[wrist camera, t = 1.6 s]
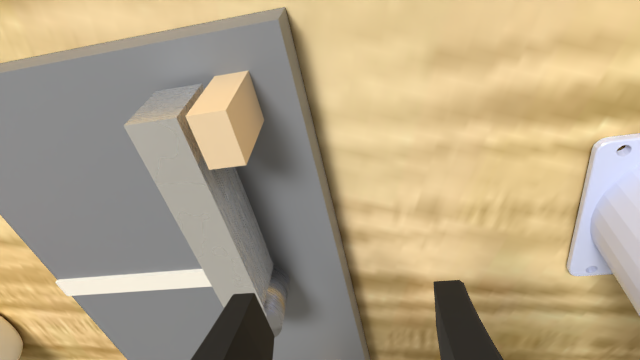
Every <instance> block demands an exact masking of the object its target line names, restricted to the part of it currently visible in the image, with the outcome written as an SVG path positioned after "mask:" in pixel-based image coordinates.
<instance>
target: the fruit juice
mask: <svg viewBox="0 0 640 360" xmlns="http://www.w3.org/2000/svg"><path fill="white" fill-rule="evenodd" d="M22 350H23V342H22V339H21V337H20V335H19V333H18V332H17V330H16V329H15V328H14V327H13V326H12V325H11V324H10V323H9V322H8V321H7V320H5V319H4V318H3V317H1V316H0V360H19V358H20V356H21V353H22Z"/></svg>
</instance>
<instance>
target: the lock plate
mask: <svg viewBox="0 0 640 360" xmlns="http://www.w3.org/2000/svg"><path fill="white" fill-rule="evenodd" d="M201 83H202V84H203V87H204V89H205V90H204V91H203V93H202V94H201V95H200V97H199V98H198V99H197V101H196V102H195V104H194V105H193V106H192V108H191V109H190V110H189V112H188V113H187V115H186V116H185V117H186V119H187V121H188V123H189V126H190V128H191V130H192V132H193V135H194V137H195V139H196V141H197V144H198V146H199V148H200V150H201V153H202V155H203V157H204V159H205V162H206V164H207V166H208V168H209V170H212V169H220V168H228V167H236V170H237V172H238V175H239V178H240V180H241V183H242V185H243V188H244V190H245V193H246V195H247V198H248V200H249V203H250V205H251V208H252V210H253V213H254V215H255V218H256V220H257V223H258V226H259V228H260V231H261V233H262V236H263V238H264V241H265V243H266V246H267V248H268V251H269V253H270V256H271V258H272V261H273V263H274V265H276V266H278V267H280V268H281V269H283V270H284V271H285V272H286V273H287V275H288V277H289V279H290V287H289V292H288V298H287V303H286V309H285V315H284V320H283V326H282V330H281V332H280V334H279V335H278V336H277V337H275V338H274V349H273V360H370V356H369V352H368V348H367V344H366V339H365V335H364V331H363V327H362V323H361V319H360V315H359V310H358V306H357V302H356V298H355V294H354V290H353V286H352V282H351V277H350V273H349V269H348V265H347V261H346V257H345V253H344V248H343V244H342V240H341V236H340V232H339V228H338V224H337V219H336V215H335V211H334V207H333V203H332V199H331V195H330V191H329V186H328V182H327V178H326V174H325V170H324V166H323V162H322V157H321V153H320V149H319V145H318V141H317V137H316V133H315V128H314V124H313V120H312V116H311V112H310V108H309V104H308V99H307V95H306V91H305V87H304V83H303V79H302V75H301V71H300V66H299V62H298V58H297V54H296V50H295V46H294V42H293V37H292V33H291V29H290V25H289V21H288V17H287V13H286V8H285V7H283V8H278V9H273V10H268V11H263V12H258V13H253V14H248V15H243V16H238V17H233V18H228V19H222V20H217V21H212V22H207V23H202V24H197V25H192V26H187V27H182V28H177V29H172V30H167V31H162V32H157V33H152V34H147V35H142V36H137V37H132V38H126V39H121V40H116V41H111V42H106V43H101V44H96V45H91V46H86V47H81V48H76V49H71V50H66V51H61V52H56V53H51V54H46V55H41V56H36V57H31V58H25V59H20V60H15V61H10V62H5V63H0V215H1V216H2V217H3V218H4V219H5V220H6V222H7V223H8V224H9V225H10V226H11V227H12V228H13V230H14V231H15V232H16V233H17V234H18V235H19V236H20V238H21V239H22V240H23V241H24V242H25V243H26V244H27V246H28V247H29V248H30V249H31V250H32V251H33V252H34V254H35V255H36V256H37V257H38V258H39V259H40V260H41V262H42V263H43V264H44V265H45V266H46V267H47V268H48V270H49V271H50V272H51V273H52V274H53V275H54V276H55V277H56V279H57V281H56V282H55V283H56V284H57V285H58V286H59V287H60V288H61V290H62V291H63V292H64V293H65V294H66V295H67V296H72V297H73V298H74V299H75V300H76V301H77V303H78V304H79V305H80V306H81V307H82V308H83V309H84V311H85V312H86V313H87V314H88V315H89V316H90V317H91V319H92V320H93V321H94V322H95V323H96V324H97V325H98V326H99V328H100V329H101V330H102V331H103V332H104V333H105V334H106V336H107V337H108V338H109V339H110V340H111V341H112V342H113V344H114V345H115V346H116V347H117V348H118V349H119V350H120V352H121V353H122V354H123V355H124V356H125V357H126V358H127V360H191V358H192V357H193V355H194V354H195V352H196V351H197V349H198V348H199V346H200V345H201V343H202V342H203V340H204V339H205V337H206V336H207V334H208V333H209V331H210V330H211V328H212V326H213V325H214V323H215V322H216V320H217V319H218V317H219V315H220V314H221V312H222V311H223V309H224V307H223V305H222V304H221V302H220V300H219V298H218V296H217V295H216V293H215V291H214V289H213V287H212V286H211V284H210V282H209V280H208V278H207V276H206V275H205V273H204V271H203V269H202V267H201V266H200V264H199V262H198V260H197V258H196V256H195V255H194V253H193V251H192V249H191V247H190V246H189V244H188V242H187V240H186V238H185V236H184V235H183V233H182V231H181V229H180V227H179V226H178V224H177V222H176V220H175V218H174V217H173V215H172V213H171V211H170V209H169V207H168V206H167V204H166V202H165V200H164V198H163V197H162V195H161V193H160V191H159V189H158V187H157V186H156V184H155V182H154V180H153V178H152V177H151V175H150V173H149V171H148V169H147V167H146V166H145V164H144V162H143V160H142V158H141V157H140V155H139V153H138V151H137V149H136V148H135V146H134V144H133V142H132V140H131V138H130V137H129V135H128V133H127V131H126V129H125V128H124V125H125V124H126V122H127V121H128V120H129V119H130V118H131V117H132V116H133V115H134V114H135V113H136V112H137V111H138V110H139V109H140V108H141V107H142V105H143V104H144V103H145V102H146V101H147V100H148V99H149V98H150V97H151V96H152V95H153V94H154V93H155V92H156V91H160V90H166V89H172V88H178V87H184V86H190V85H195V84H201Z"/></svg>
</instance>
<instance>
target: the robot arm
mask: <svg viewBox="0 0 640 360" xmlns="http://www.w3.org/2000/svg"><path fill="white" fill-rule="evenodd" d="M624 145H626V146H625V148H623V149H622V150H619V151H617V150H618V148H620V147H621V146H624ZM567 269H568V271H569V273H570V274H571V275H574V276H589V275H606V274H614V276H615V277H616V279H617V281H618V282H619V284H620V286H621V287H622V289H623V290H624V292H625V294H626V295H627V297H628V299H629V300H630V302H631V303H632V305H633V307H634V308H635V310H636V311H637V313H638V315H639V316H640V133H638V134H629V135H621V136H612V137H606V138H603V139H601V140H599V141H597V142H596V143H595V144H594V146H593V148H592V151H591V156H590V160H589V165H588V170H587V174H586V179H585V183H584V188H583V193H582V197H581V202H580V206H579V211H578V215H577V220H576V225H575V229H574V234H573V238H572V243H571V248H570V252H569V257H568V261H567ZM434 295H435V311H436V327H437V335H438V342H439V349H440V356H441V360H503V358H502V357H501V355H500V353H499V352H498V350H497V348H496V347H495V345H494V343H493V342H492V340H491V338H490V336H489V335H488V333H487V331H486V329H485V327H484V326H483V324H482V322H481V320H480V318H479V316H478V314H477V312H476V310H475V308H474V306H473V304H472V302H471V300H470V298H469V295H468V293H467V291H466V288H465V285H464V283H463V282H461V281H460V280H453V281H437V282H434ZM274 337H275V336H274V334H273V331H272V329H271V327H270V325H269V323H268V321H267V319H266V316H265V314H264V312H263V310H262V308H261V306H260V303H259V301H258V299H257V297H256V295H255V293H243V294H233V295H232V297H231V298H230V300H229V301H228V303H227V304H226V306H225V307H224V309H223V311H222V312H221V314H220V315H219V317H218V319H217V320H216V322H215V323H214V325H213V326H212V328H211V330H210V331H209V333H208V334H207V336H206V337H205V339H204V340H203V342H202V343H201V345H200V346H199V348H198V349H197V351H196V352H195V354H194V355H193V357H192V358H191V360H273V349H274Z"/></svg>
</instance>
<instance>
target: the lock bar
mask: <svg viewBox="0 0 640 360" xmlns="http://www.w3.org/2000/svg"><path fill="white" fill-rule="evenodd" d="M204 90H205V89H204V87H203V84H202V83H201V84H195V85H190V86H184V87H178V88H172V89H166V90H160V91H156V92H155V93H154V94H153V95H152V96H151V97H150V98H149V99H148V100H147V101H146V102H145V103H144V104H143V105H142V107H141V108H140V109H139V110H138V111H137V112H136V113H135V114H134V115H133V116H132V117H131V118H130V119H129V120H128V121H127V122H126V124H125V125H124V128H125V129H126V131H127V133H128V135H129V137H130V138H131V140H132V142H133V144H134V146H135V148H136V149H137V151H138V153H139V155H140V157H141V158H142V160H143V162H144V164H145V166H146V167H147V169H148V171H149V173H150V175H151V177H152V178H153V180H154V182H155V184H156V186H157V187H158V189H159V191H160V193H161V195H162V197H163V198H164V200H165V202H166V204H167V206H168V207H169V209H170V211H171V213H172V215H173V217H174V218H175V220H176V222H177V224H178V226H179V227H180V229H181V231H182V233H183V235H184V236H185V238H186V240H187V242H188V244H189V246H190V247H191V249H192V251H193V253H194V255H195V256H196V258H197V260H198V262H199V264H200V266H201V267H202V269H203V271H204V273H205V275H206V276H207V278H208V280H209V282H210V284H211V286H212V287H213V289H214V291H215V293H216V295H217V296H218V298H219V300H220V302H221V304H222V305H223V307H225V306H226V304H227V303H228V301H229V300H230V298H231V297H232V295H233V294H243V293H255V295H256V297H257V299H258V301H259V303H260V306H261V308H262V310H263V312H264V314H265V316H266V319H267V321H268V323H269V325H270V327H271V329H272V331H273V334H274V336H275V337H277V336H278V335H279V334H280V332H281V330H282V326H283V320H284V315H285V309H286V303H287V298H288V292H289V287H290V279H289V277H288V275H287V273H286V272H285V271H284V270H283V269H281V268H280V267H278V266H276V265H274V263H273V261H272V258H271V256H270V253H269V251H268V248H267V246H266V243H265V241H264V238H263V236H262V233H261V231H260V228H259V226H258V223H257V220H256V218H255V215H254V213H253V210H252V208H251V205H250V203H249V200H248V198H247V195H246V193H245V190H244V188H243V185H242V183H241V180H240V178H239V175H238V172H237V170H236V167H228V168H220V169H212V170H209V168H208V166H207V164H206V162H205V159H204V157H203V155H202V153H201V150H200V148H199V146H198V144H197V141H196V139H195V137H194V135H193V132H192V130H191V128H190V126H189V123H188V121H187V119H186V117H185V116H186V115H187V113H188V112H189V110H190V109H191V108H192V106H193V105H194V104H195V102H196V101H197V99H198V98H199V97H200V95H201V94H202V93H203V91H204ZM275 337H274V338H275Z"/></svg>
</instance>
